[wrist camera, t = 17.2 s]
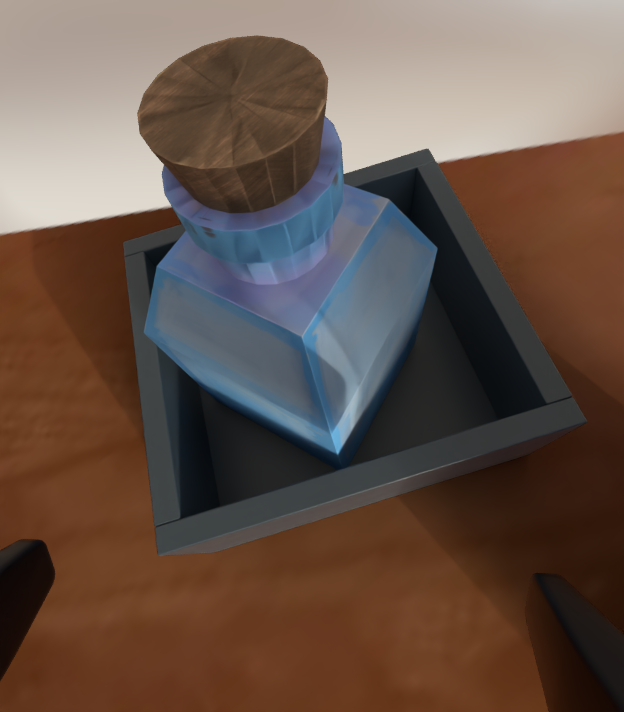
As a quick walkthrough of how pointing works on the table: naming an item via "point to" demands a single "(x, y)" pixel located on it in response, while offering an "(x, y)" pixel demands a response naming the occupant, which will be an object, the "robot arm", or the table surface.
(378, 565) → the table surface
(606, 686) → the robot arm
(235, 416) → the open square box
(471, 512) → the table surface
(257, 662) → the table surface
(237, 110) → the perfume bottle
